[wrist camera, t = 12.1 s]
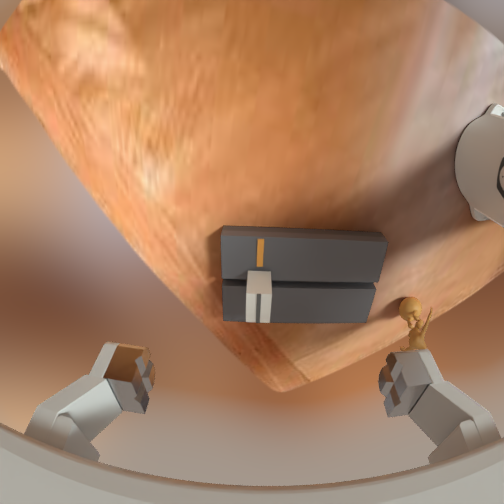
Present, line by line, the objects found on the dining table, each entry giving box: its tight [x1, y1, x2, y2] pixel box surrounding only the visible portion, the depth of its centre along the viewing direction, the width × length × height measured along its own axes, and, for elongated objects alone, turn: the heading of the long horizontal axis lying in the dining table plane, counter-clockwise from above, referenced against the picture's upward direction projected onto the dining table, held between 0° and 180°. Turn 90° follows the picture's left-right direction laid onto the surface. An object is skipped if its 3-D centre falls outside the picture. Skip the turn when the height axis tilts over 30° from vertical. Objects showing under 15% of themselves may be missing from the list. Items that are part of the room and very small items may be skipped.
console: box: [221, 226, 388, 323], centre depth 43 cm, size 22×14×3 cm, turn 88°
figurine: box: [399, 297, 432, 351], centre depth 42 cm, size 8×6×12 cm
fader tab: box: [246, 271, 272, 323], centre depth 40 cm, size 3×4×7 cm, turn 178°
